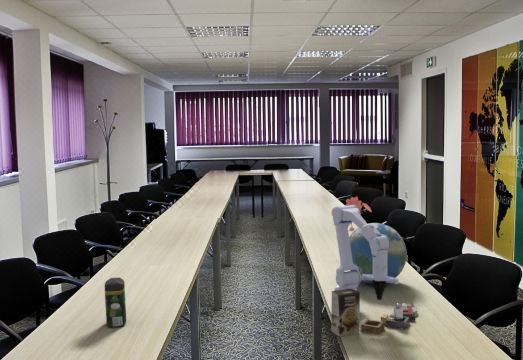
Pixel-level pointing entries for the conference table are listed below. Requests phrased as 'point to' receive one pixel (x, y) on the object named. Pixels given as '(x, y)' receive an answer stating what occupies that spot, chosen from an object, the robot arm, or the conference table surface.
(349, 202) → the figurine
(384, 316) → the key
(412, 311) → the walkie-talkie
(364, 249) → the globe
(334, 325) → the coffee box
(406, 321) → the block
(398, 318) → the silver knobbed cylinder
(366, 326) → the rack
